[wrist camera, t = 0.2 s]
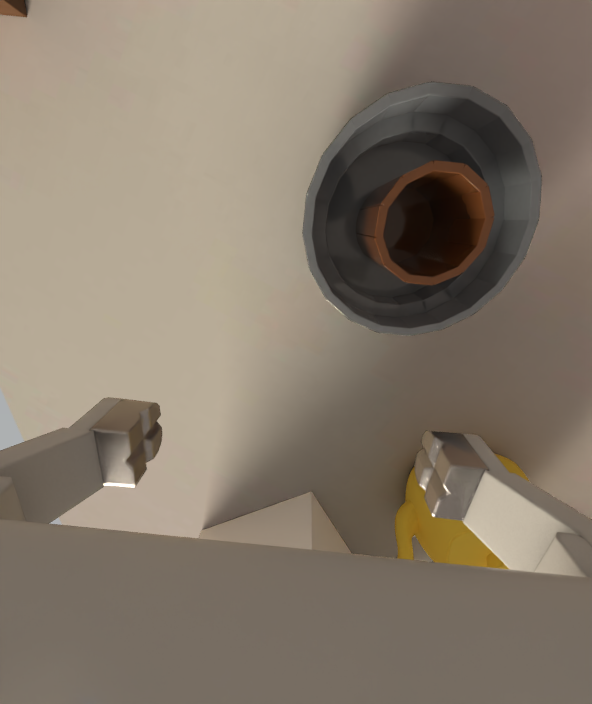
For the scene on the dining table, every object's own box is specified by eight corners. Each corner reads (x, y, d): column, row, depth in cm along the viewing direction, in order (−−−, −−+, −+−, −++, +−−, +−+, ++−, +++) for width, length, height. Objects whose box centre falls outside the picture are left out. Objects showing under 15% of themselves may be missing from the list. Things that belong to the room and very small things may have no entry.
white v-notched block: (201, 530, 39) (44, 978, 16) (311, 491, 36) (316, 979, 13) (275, 615, 45) (240, 1025, 22) (374, 588, 42) (455, 1034, 19)
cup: (363, 176, 23) (389, 154, 16) (446, 185, 23) (510, 167, 16) (349, 262, 25) (366, 278, 18) (424, 270, 25) (472, 289, 18)
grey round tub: (316, 107, 22) (318, 68, 16) (515, 128, 22) (584, 97, 16) (296, 303, 27) (293, 324, 22) (456, 320, 27) (493, 345, 22)
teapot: (458, 409, 31) (522, 487, 22) (544, 476, 34) (632, 570, 24) (364, 489, 35) (384, 582, 26) (446, 542, 38) (490, 643, 29)
